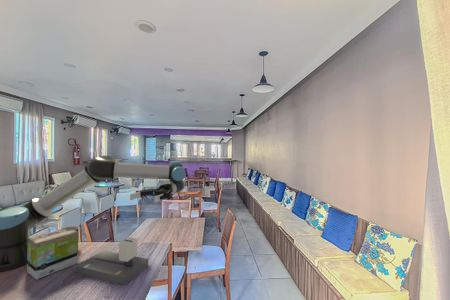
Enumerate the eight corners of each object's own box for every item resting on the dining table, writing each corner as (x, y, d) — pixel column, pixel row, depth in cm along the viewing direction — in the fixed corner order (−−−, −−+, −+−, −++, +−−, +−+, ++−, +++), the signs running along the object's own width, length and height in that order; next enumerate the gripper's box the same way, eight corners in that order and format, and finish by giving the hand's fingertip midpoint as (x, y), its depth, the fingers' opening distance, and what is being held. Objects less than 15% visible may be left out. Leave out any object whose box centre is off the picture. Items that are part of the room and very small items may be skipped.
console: (75, 273, 89) (75, 265, 89) (103, 256, 103) (103, 250, 103) (124, 285, 82) (124, 277, 82) (148, 265, 95) (148, 258, 95)
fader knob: (119, 267, 88) (119, 242, 87) (129, 260, 93) (129, 236, 93) (127, 269, 86) (127, 244, 86) (137, 261, 92) (137, 238, 92)
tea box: (36, 281, 84) (36, 243, 84) (26, 273, 89) (26, 237, 89) (78, 263, 97) (78, 230, 96) (68, 257, 102) (68, 226, 102)
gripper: (186, 198, 119) (165, 208, 99) (148, 194, 126) (121, 203, 106) (186, 184, 119) (165, 192, 99) (148, 181, 126) (121, 188, 106)
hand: (142, 198), depth 102 cm, fingers open, 13 cm apart
